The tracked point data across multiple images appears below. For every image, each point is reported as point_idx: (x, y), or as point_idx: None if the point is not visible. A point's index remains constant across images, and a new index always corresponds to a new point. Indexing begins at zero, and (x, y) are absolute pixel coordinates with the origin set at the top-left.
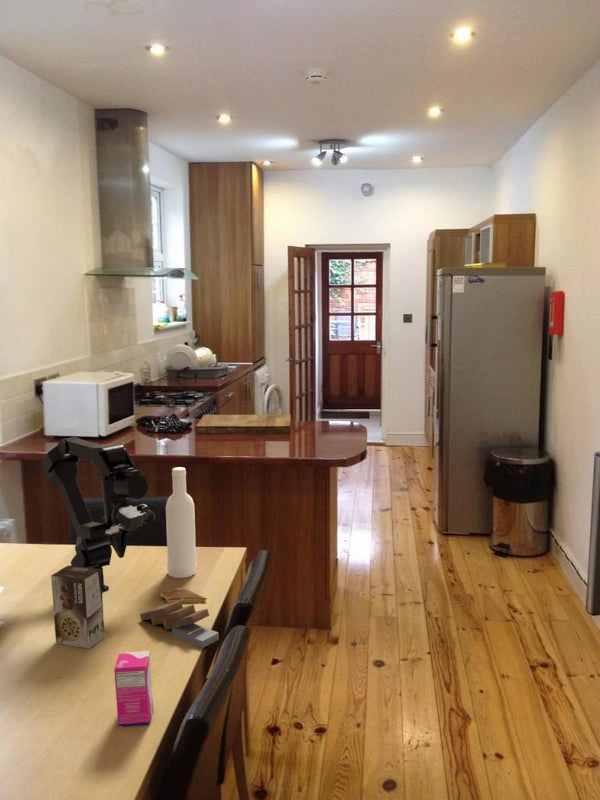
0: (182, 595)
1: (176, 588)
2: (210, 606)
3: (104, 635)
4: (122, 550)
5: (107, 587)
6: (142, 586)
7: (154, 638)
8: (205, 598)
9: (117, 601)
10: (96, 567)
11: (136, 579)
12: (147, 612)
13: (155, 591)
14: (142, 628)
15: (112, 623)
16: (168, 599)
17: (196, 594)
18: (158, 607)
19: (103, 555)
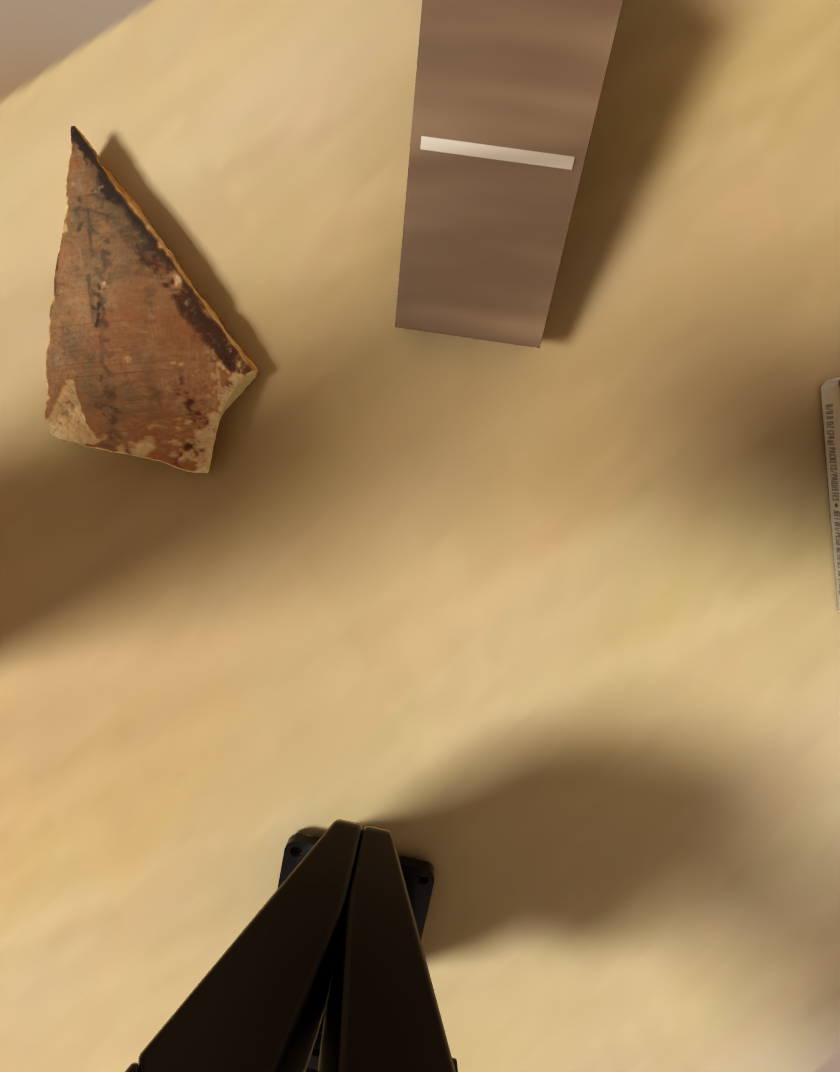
0: (139, 314)
1: (77, 436)
2: (133, 67)
3: (828, 381)
4: (335, 935)
5: (291, 850)
6: (152, 690)
7: (699, 70)
8: (80, 133)
9: (393, 672)
10: (315, 1043)
11: (98, 791)
12: (565, 237)
13: (162, 569)
14: (617, 254)
15: (646, 478)
16: (234, 366)
17: (67, 241)
18: (461, 216)
19: None
